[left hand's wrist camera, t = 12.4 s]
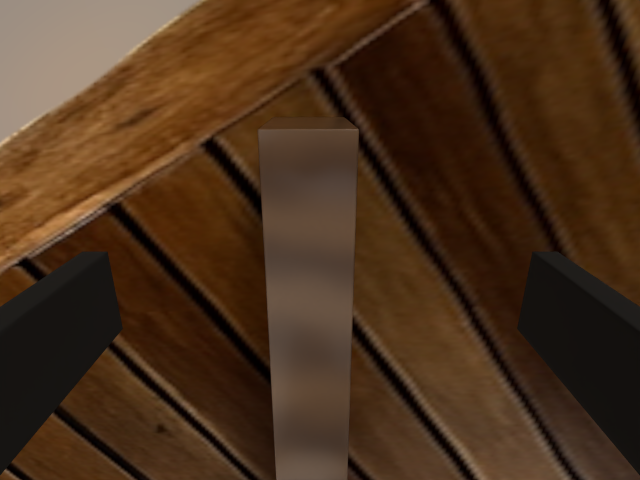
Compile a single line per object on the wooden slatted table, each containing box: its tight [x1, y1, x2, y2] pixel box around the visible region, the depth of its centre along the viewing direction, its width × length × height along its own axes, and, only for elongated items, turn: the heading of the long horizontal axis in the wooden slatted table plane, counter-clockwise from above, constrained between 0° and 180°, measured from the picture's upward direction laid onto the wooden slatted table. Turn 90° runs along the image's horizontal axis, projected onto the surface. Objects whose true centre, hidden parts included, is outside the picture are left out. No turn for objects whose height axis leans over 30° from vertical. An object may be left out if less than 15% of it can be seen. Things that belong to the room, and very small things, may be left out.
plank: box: [258, 117, 359, 480], centre depth 31 cm, size 47×5×8 cm, turn 0°
